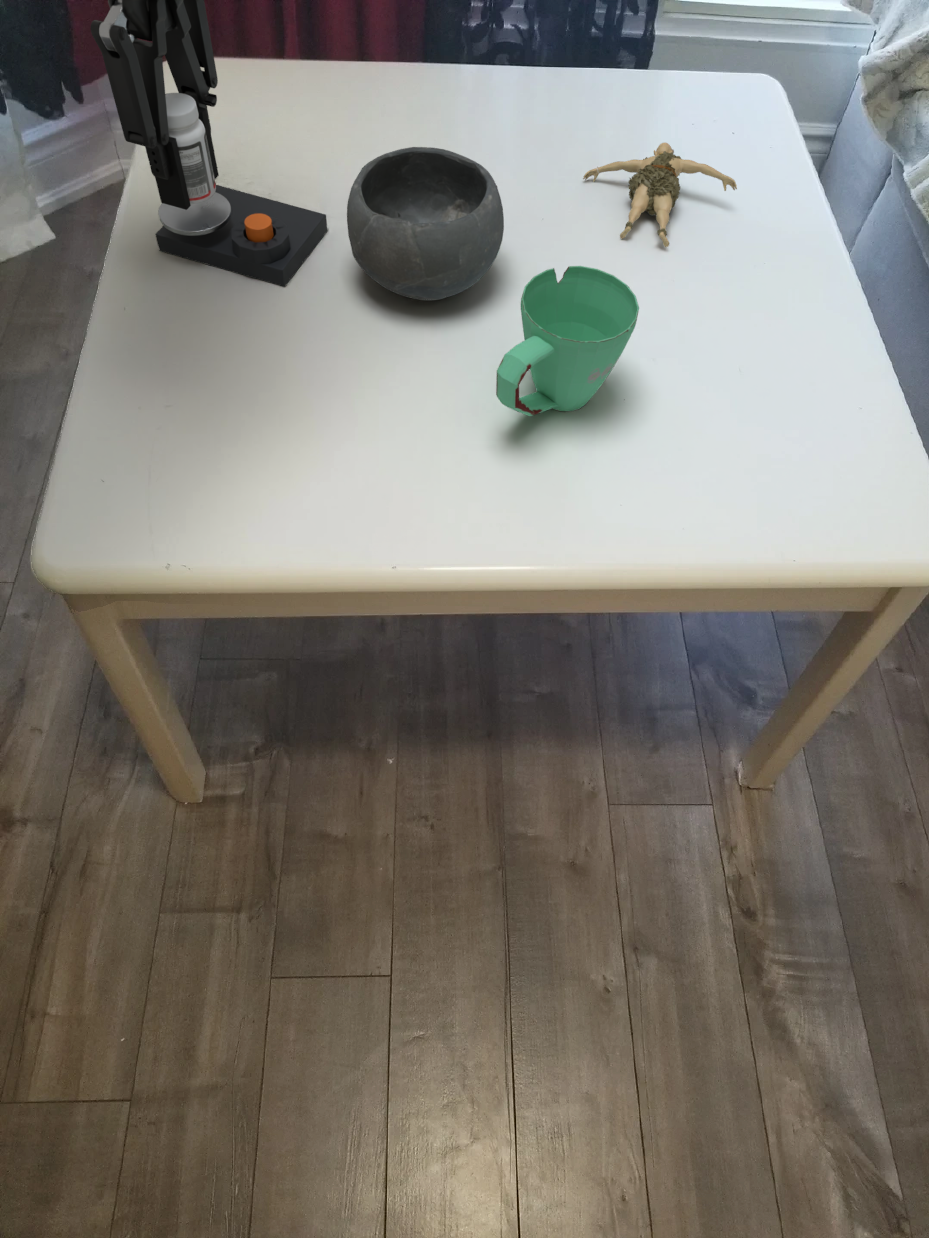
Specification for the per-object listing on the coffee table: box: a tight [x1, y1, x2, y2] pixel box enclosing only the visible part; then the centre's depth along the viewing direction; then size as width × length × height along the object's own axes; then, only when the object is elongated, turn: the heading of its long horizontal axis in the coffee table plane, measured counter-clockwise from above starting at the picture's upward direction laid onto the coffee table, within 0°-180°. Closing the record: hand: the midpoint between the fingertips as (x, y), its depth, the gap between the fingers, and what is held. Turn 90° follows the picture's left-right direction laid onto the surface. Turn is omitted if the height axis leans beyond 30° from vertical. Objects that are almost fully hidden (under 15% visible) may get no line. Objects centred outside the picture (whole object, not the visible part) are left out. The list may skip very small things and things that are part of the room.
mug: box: [495, 265, 640, 417], centre depth 79 cm, size 15×10×10 cm
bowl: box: [346, 146, 505, 301], centre depth 88 cm, size 15×15×10 cm
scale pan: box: [157, 192, 232, 236], centre depth 90 cm, size 7×7×1 cm
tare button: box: [244, 214, 274, 242], centre depth 89 cm, size 3×3×2 cm
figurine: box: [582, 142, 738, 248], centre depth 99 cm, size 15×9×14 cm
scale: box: [154, 184, 328, 287], centre depth 92 cm, size 14×10×4 cm
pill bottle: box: [165, 92, 217, 204], centre depth 85 cm, size 5×5×8 cm
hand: (190, 188), depth 88 cm, fingers closed on pill bottle, 5 cm apart
